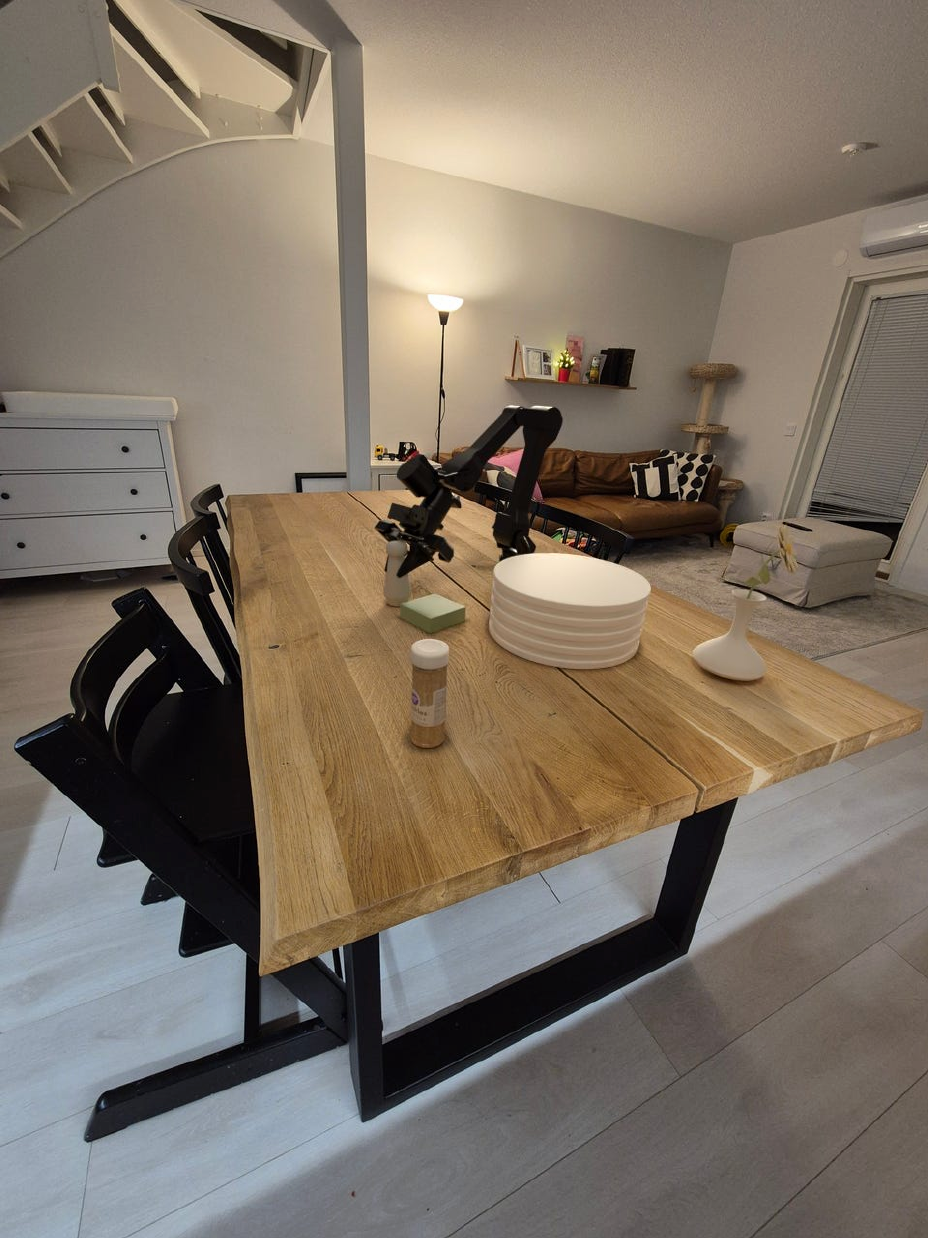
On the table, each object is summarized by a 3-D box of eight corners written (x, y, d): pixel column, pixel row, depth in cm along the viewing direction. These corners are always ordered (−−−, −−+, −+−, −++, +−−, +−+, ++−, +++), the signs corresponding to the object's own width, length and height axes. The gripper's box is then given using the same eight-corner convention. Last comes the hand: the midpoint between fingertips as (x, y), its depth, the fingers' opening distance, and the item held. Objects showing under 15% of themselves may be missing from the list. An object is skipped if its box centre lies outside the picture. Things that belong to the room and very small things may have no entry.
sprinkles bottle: (402, 738, 64) (402, 645, 59) (427, 723, 68) (429, 634, 62) (428, 755, 62) (430, 659, 56) (452, 738, 65) (457, 646, 59)
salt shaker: (413, 598, 107) (414, 539, 102) (408, 609, 102) (408, 547, 96) (387, 596, 108) (385, 537, 102) (380, 607, 102) (378, 545, 97)
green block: (434, 606, 104) (435, 593, 103) (464, 621, 98) (465, 607, 97) (400, 617, 98) (400, 603, 97) (430, 633, 93) (430, 618, 91)
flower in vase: (733, 693, 79) (784, 538, 68) (676, 660, 88) (712, 519, 77) (784, 677, 84) (837, 531, 74) (725, 647, 93) (765, 514, 83)
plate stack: (646, 622, 102) (658, 568, 98) (625, 686, 79) (640, 620, 74) (517, 594, 113) (522, 545, 108) (464, 644, 89) (468, 583, 85)
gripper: (380, 480, 103) (338, 542, 100) (445, 494, 92) (401, 564, 89) (408, 513, 112) (371, 570, 109) (471, 529, 101) (432, 594, 98)
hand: (391, 574), depth 101 cm, fingers closed on salt shaker, 3 cm apart
